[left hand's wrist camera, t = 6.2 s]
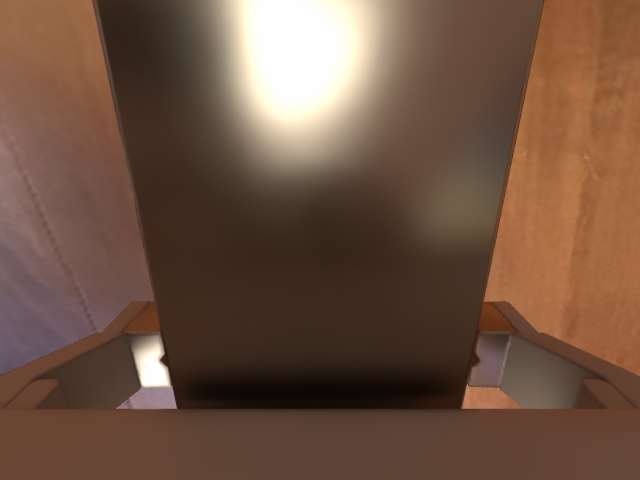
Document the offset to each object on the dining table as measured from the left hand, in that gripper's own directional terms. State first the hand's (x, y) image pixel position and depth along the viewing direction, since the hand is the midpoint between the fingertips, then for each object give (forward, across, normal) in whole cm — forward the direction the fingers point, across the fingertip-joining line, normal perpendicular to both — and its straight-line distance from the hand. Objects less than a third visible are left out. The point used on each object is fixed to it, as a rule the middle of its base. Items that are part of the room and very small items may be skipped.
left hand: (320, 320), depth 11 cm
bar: (+4, 0, -9) cm, 10 cm away
